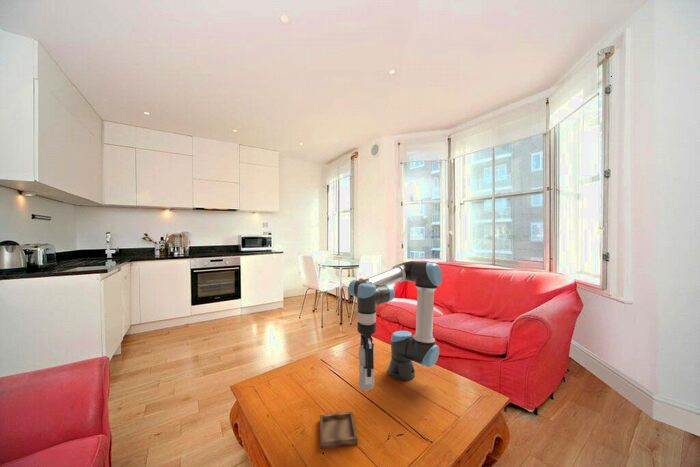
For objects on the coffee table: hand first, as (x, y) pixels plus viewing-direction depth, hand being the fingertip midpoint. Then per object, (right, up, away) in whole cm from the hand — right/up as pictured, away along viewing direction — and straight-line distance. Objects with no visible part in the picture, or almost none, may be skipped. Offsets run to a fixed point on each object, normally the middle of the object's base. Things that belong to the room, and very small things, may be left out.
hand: (366, 378), depth 101 cm
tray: (-12, -21, 0) cm, 24 cm away
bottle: (0, -4, 0) cm, 4 cm away
